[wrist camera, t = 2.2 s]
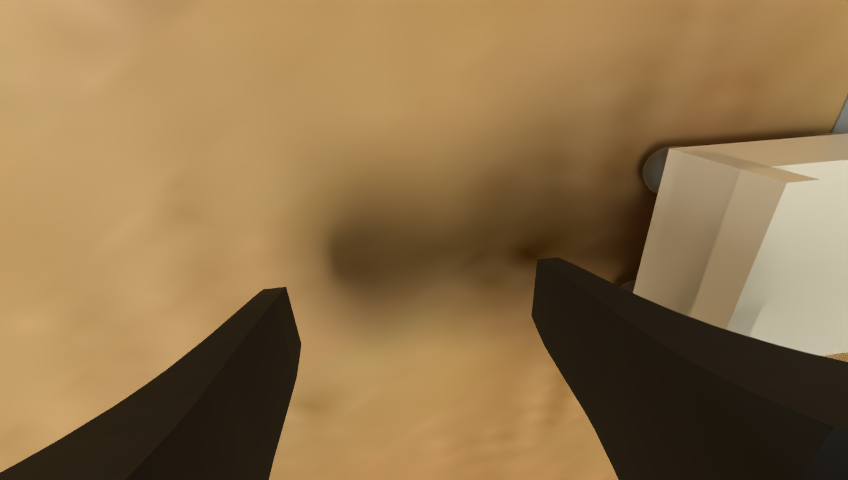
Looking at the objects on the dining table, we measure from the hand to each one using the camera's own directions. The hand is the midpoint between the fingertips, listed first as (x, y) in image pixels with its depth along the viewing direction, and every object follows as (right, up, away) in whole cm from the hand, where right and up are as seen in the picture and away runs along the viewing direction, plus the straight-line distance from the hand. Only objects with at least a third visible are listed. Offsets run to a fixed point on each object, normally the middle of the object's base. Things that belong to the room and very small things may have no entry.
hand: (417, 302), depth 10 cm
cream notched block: (+11, +2, +4) cm, 12 cm away
